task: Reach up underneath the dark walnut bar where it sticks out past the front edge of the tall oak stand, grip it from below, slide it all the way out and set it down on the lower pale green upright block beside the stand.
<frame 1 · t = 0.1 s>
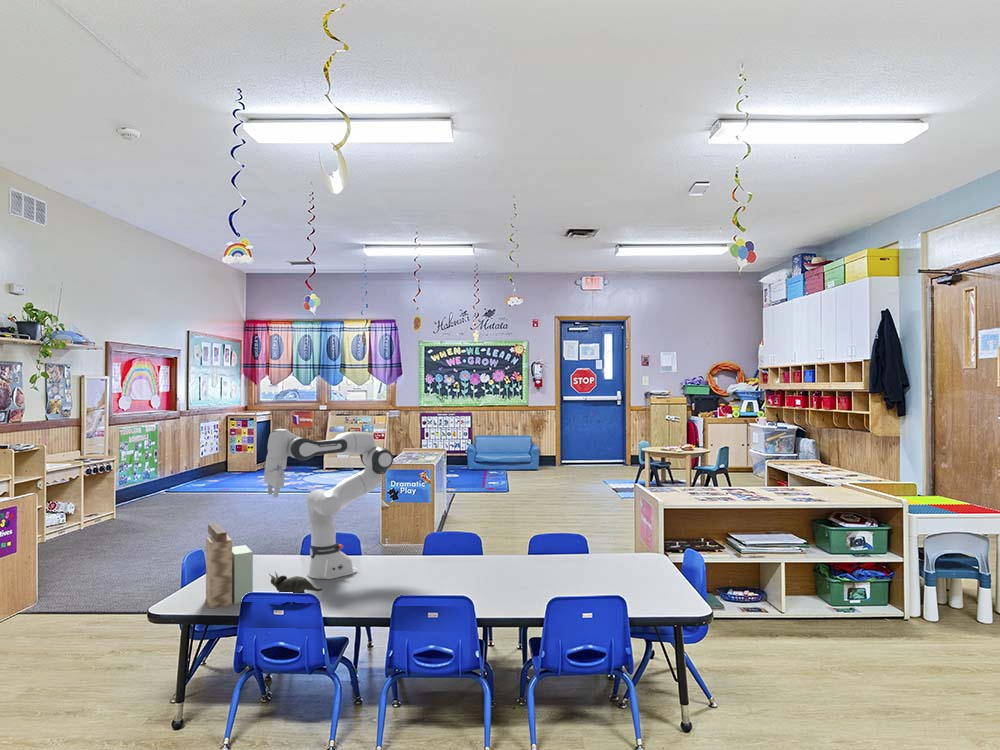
hand: (272, 495, 289), 39 cm above the table, tool pointing down, fingers open, 8 cm apart
pale green upright block: (240, 597, 269), on the table
dinosaur figurine: (293, 601, 264), on the table
bar: (216, 536, 267), point 26 cm above the table, touching stand
stand: (218, 602, 263), on the table
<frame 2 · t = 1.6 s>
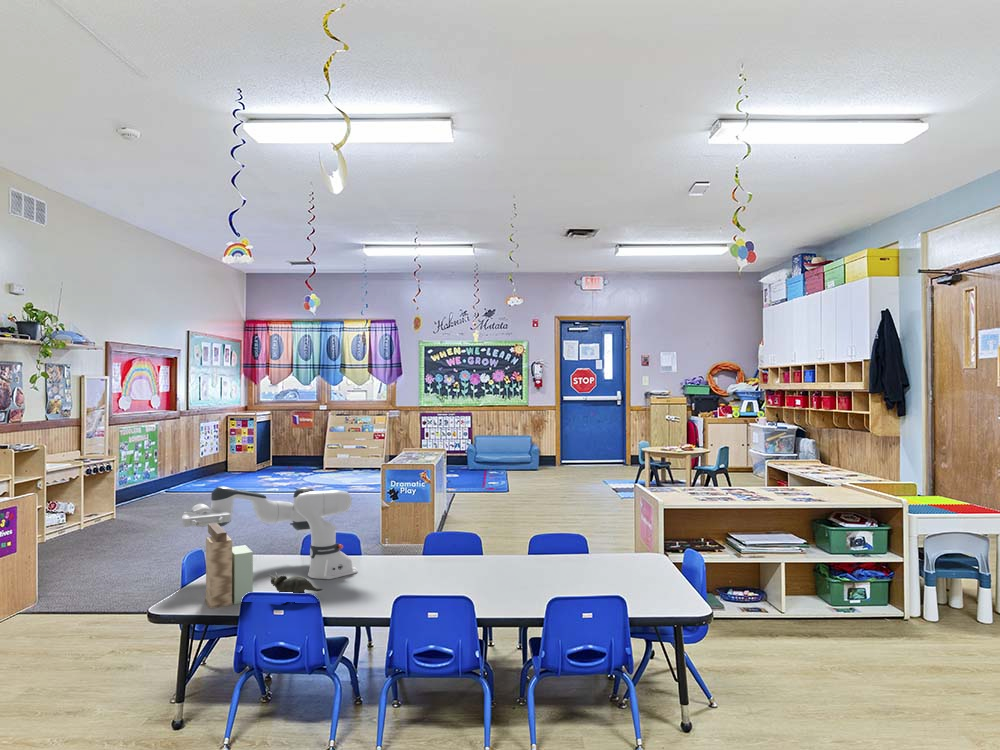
hand: (208, 522, 285), 28 cm above the table, tool horizontal, fingers open, 8 cm apart
nothing on the table moved.
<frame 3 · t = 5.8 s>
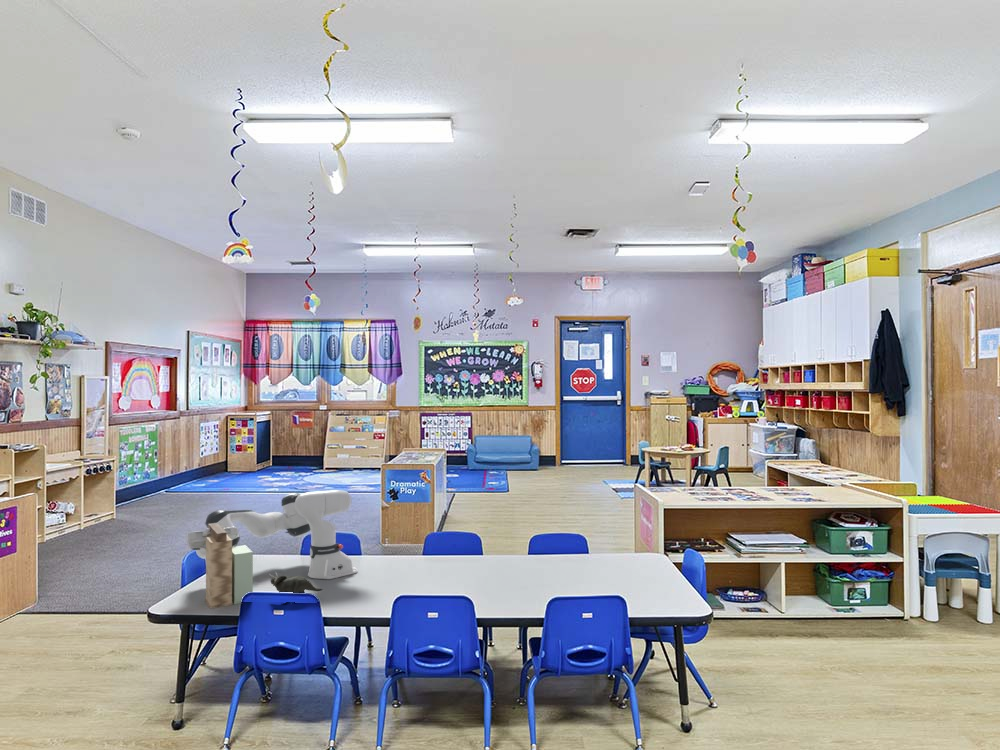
hand: (215, 529, 270), 28 cm above the table, tool pointing upward, fingers closed on bar, 3 cm apart
bar: (217, 536, 267), point 26 cm above the table, touching gripper, stand
everything else where it was.
when the fingers open (24 cm above the table, at t = 14.9 s): bar drops 1 cm, resting on pale green upright block.
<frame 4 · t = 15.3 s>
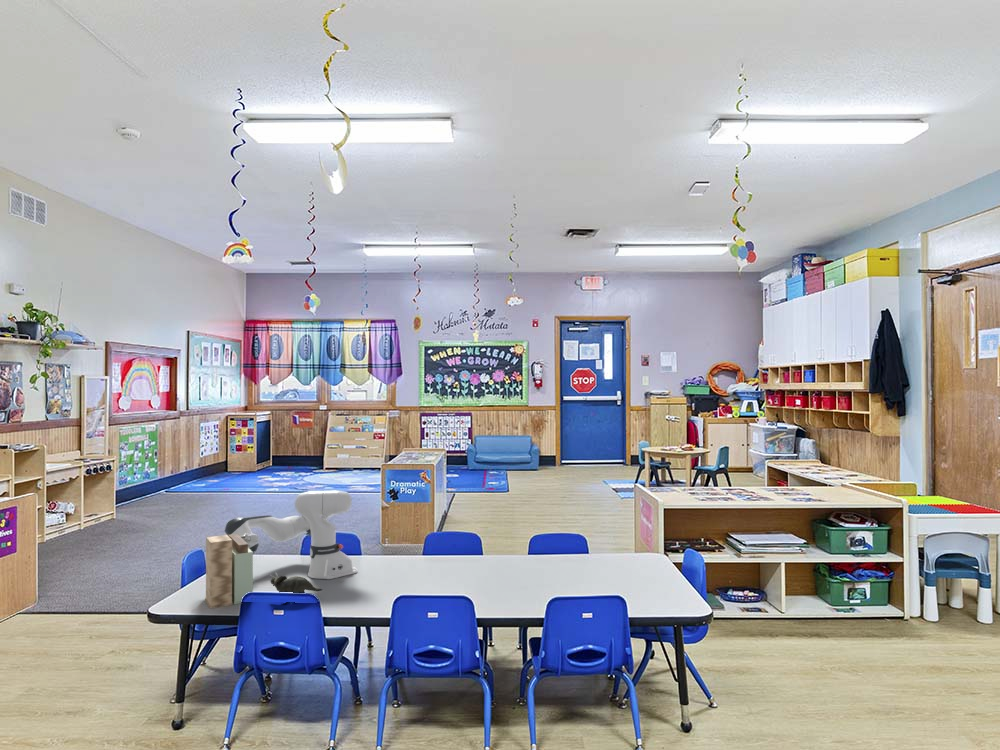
hand: (236, 536, 276), 24 cm above the table, tool pointing upward, fingers open, 7 cm apart
bar: (238, 547, 272), point 20 cm above the table, touching pale green upright block
everything else where it was.
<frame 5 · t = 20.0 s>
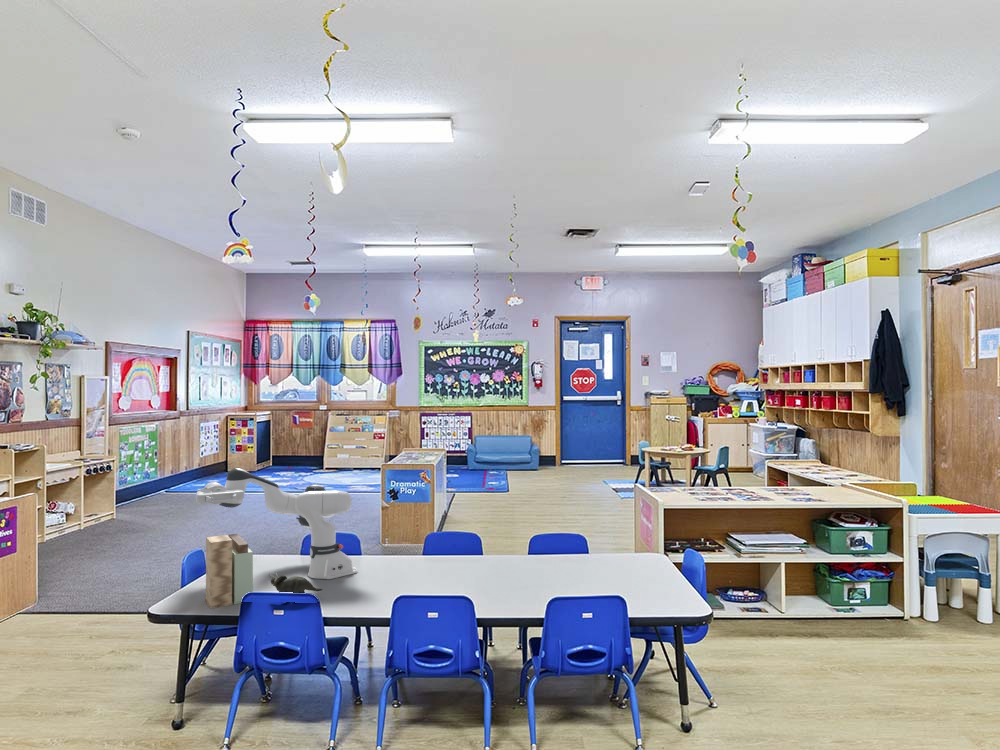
hand: (223, 498, 288), 38 cm above the table, tool horizontal, fingers open, 8 cm apart
nothing on the table moved.
at the end: bar inside the target area on the pale green upright block (1.1 cm from its centre), point 20.0 cm above the pale green upright block's base; the gripper is holding nothing; bar moved 10.4 cm from its start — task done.
